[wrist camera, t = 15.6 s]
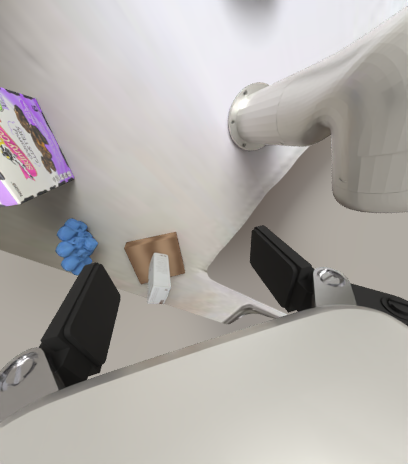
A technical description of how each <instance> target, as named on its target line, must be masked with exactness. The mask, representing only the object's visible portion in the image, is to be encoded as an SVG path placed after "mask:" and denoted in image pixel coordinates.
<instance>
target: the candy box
mask: <svg viewBox="0 0 408 464" xmlns="http://www.w3.org/2000/svg"><path fill="white" fill-rule="evenodd" d="M73 179H74V176H73V174H72V172H71V170H70V168H69V166H68V164H67V162H66V160H65V158H64V156H63V154H62V152H61V150H60V148H59V146H58V144H57V142H56V140H55V138H54V136H53V133H52V131H51V129H50V127H49V125H48V123H47V121H46V119H45V117H44V115H43V113H42V111H41V109H40V107H39V105H38V103H37V101H36V99H35V98H32V97H29V96H26V95H23V94H20V93H16V92H13V91H10V90H7V89H4V88H0V207H5V206H11V205H18V204H22V203H24V202H26V201H28V200H31V199H33V198H35V197H37V196H39V195H41V194H43V193H45V192H48V191H50V190H52V189H54V188H56V187H58V186H60V185H63V184H65V183H67V182H69V181H71V180H73Z"/></svg>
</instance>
